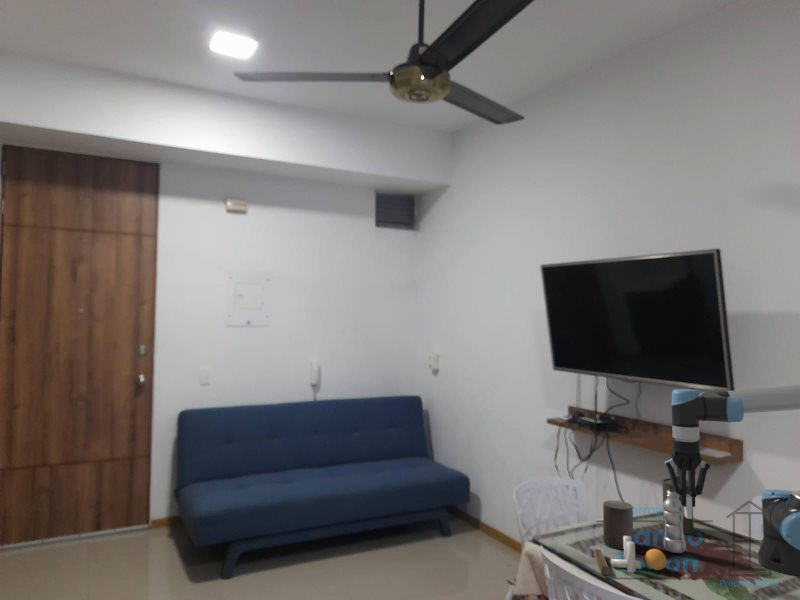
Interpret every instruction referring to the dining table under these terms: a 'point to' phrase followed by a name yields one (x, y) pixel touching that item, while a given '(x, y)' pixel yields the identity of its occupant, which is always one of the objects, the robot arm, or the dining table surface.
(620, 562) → the front pin
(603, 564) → the brown wooden stick
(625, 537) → the pin
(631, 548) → the pin
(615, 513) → the pillar candle
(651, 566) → the ball
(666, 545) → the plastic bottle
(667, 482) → the canister
